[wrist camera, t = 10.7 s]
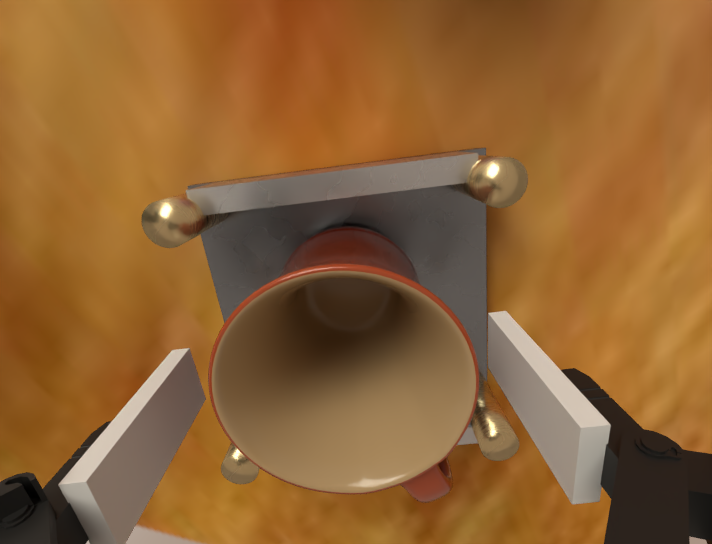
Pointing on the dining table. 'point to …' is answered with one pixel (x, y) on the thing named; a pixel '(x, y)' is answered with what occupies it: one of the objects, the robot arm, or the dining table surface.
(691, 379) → the dining table surface
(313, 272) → the mug
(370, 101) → the dining table surface
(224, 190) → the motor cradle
